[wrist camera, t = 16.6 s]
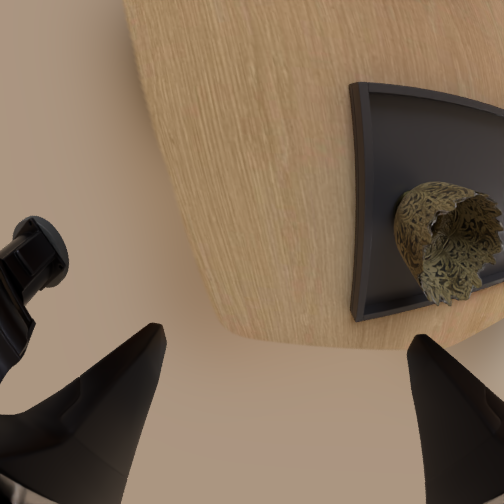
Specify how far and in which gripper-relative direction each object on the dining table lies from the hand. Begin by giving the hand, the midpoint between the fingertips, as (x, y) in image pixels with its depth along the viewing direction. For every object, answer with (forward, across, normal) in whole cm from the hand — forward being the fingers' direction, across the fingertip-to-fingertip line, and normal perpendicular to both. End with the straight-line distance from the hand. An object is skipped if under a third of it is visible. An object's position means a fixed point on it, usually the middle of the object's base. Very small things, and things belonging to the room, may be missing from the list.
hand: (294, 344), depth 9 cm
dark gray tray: (+15, -25, -3) cm, 29 cm away
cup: (+13, -10, -1) cm, 17 cm away
